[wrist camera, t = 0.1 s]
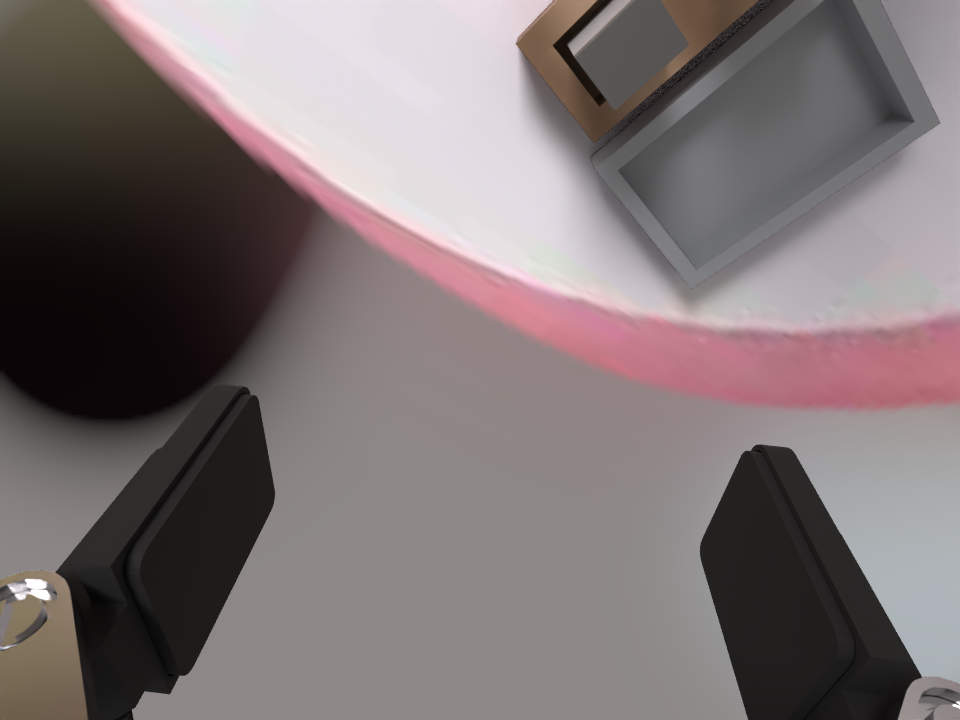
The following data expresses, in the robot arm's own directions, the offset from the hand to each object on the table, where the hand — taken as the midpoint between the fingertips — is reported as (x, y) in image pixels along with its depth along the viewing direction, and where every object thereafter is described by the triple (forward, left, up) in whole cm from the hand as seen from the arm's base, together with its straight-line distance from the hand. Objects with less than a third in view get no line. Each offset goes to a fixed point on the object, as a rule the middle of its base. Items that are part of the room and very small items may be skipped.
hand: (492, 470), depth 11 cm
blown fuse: (-7, -1, -30) cm, 31 cm away
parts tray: (-10, +10, -31) cm, 34 cm away
